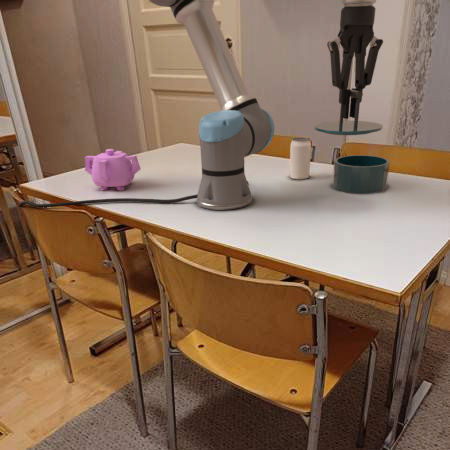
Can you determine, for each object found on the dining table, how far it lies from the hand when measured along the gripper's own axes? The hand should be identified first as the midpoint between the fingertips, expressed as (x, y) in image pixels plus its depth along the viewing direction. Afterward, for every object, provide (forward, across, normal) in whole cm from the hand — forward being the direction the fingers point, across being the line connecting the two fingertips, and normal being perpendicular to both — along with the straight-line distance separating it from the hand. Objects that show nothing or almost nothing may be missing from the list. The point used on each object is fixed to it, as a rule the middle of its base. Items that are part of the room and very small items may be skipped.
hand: (348, 117), depth 116 cm
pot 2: (+22, +12, +13) cm, 28 cm away
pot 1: (+22, -60, +40) cm, 75 cm away
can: (+22, -1, +29) cm, 37 cm away
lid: (+3, 0, 0) cm, 3 cm away
